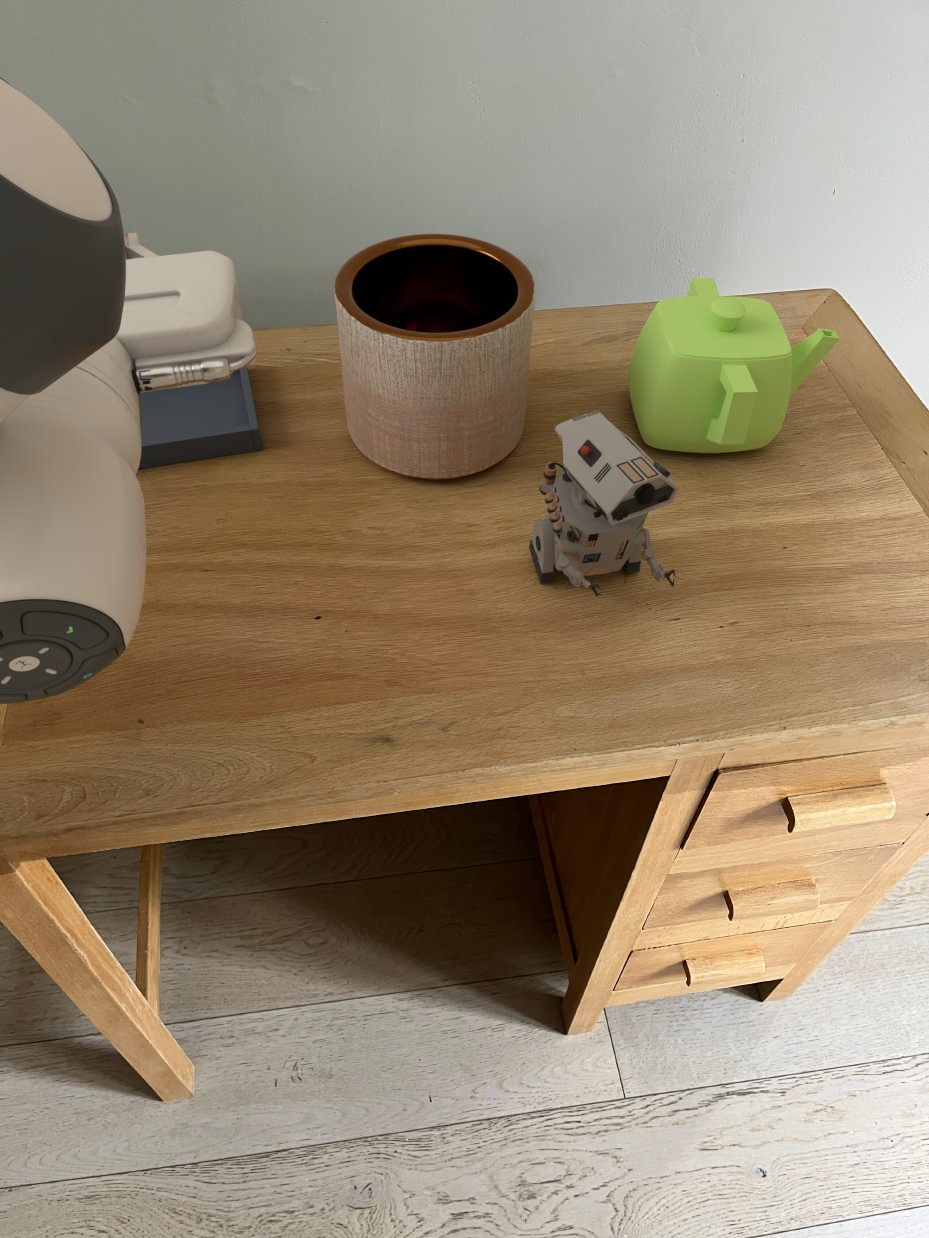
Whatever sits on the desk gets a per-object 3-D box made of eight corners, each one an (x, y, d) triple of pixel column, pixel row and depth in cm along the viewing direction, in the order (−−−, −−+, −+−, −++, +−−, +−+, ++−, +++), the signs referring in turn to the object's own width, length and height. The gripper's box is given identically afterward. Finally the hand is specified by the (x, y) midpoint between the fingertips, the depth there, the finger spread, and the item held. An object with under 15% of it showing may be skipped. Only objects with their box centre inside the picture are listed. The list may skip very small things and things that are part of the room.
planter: (369, 502, 79) (356, 355, 67) (332, 388, 90) (314, 244, 78) (548, 468, 83) (567, 323, 71) (492, 363, 93) (500, 221, 81)
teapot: (778, 363, 94) (819, 250, 84) (832, 488, 82) (888, 372, 72) (612, 363, 94) (633, 249, 84) (641, 488, 81) (670, 372, 71)
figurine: (555, 639, 70) (578, 505, 58) (524, 538, 77) (539, 401, 65) (661, 625, 71) (705, 491, 59) (622, 527, 78) (654, 390, 66)
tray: (74, 479, 80) (65, 458, 78) (75, 392, 89) (66, 371, 87) (263, 449, 84) (259, 428, 82) (247, 368, 92) (243, 347, 90)
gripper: (250, 313, 40) (223, 179, 48) (-239, 372, 36) (-177, 217, 45) (271, 422, 45) (243, 284, 53) (-158, 484, 41) (-116, 325, 49)
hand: (48, 254), depth 49 cm, fingers closed on beverage cup, 7 cm apart
